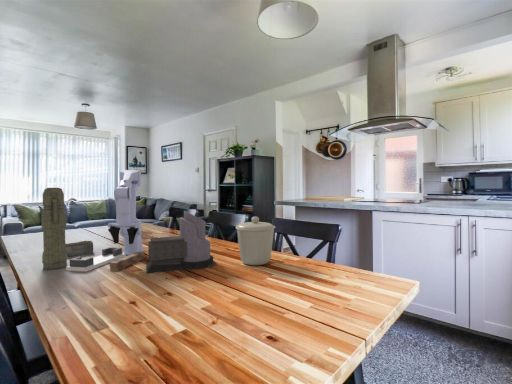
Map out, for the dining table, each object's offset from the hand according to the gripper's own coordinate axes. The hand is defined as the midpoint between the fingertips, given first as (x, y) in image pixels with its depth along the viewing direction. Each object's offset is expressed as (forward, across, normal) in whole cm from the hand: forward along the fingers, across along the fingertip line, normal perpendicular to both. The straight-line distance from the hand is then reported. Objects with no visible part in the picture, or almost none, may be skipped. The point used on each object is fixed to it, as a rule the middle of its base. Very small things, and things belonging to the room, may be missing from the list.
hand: (123, 243), depth 127 cm
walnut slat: (+10, +1, +1) cm, 10 cm away
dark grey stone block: (+10, -39, +11) cm, 41 cm away
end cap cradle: (+9, -14, 0) cm, 17 cm away
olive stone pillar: (+10, -28, -9) cm, 31 cm away
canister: (+10, +58, +13) cm, 60 cm away
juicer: (+10, +27, +2) cm, 29 cm away
